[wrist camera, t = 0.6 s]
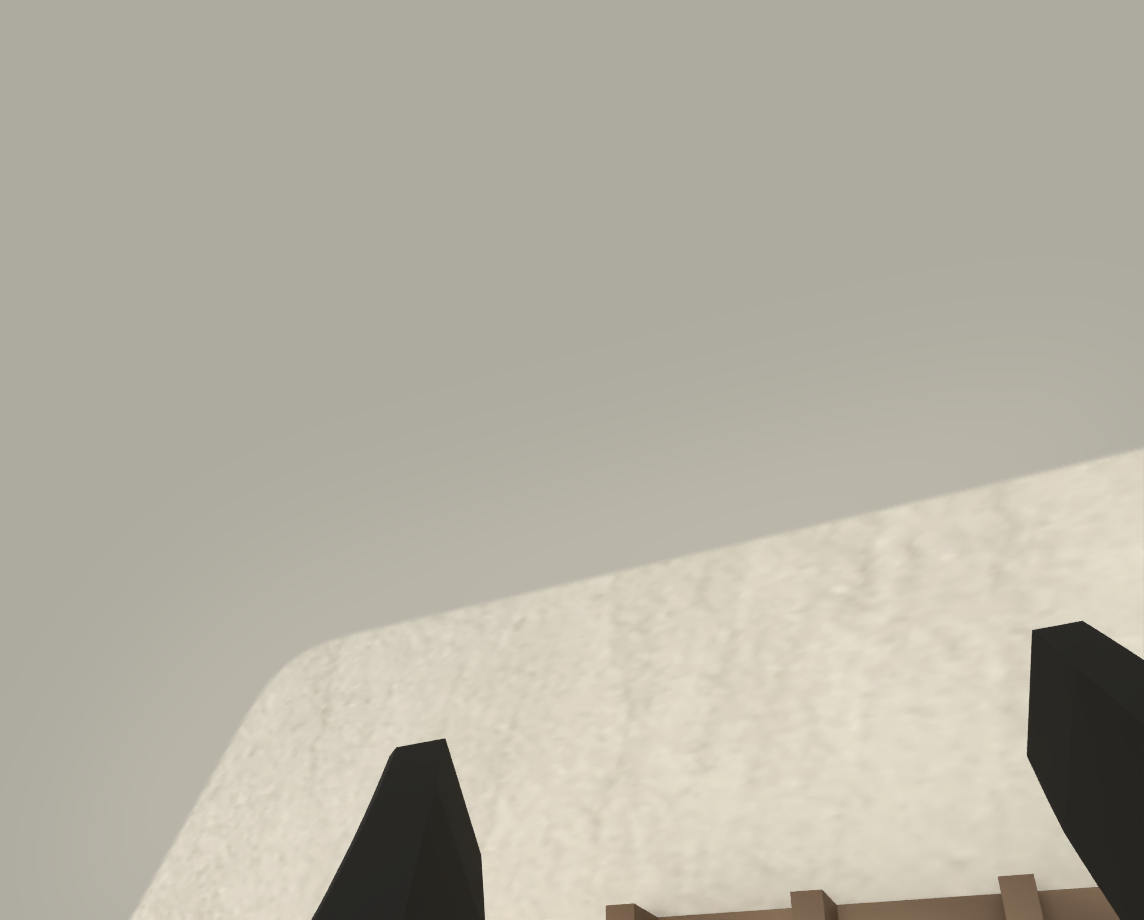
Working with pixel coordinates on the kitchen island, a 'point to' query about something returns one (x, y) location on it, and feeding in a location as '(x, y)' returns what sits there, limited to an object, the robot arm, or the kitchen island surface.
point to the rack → (923, 907)
